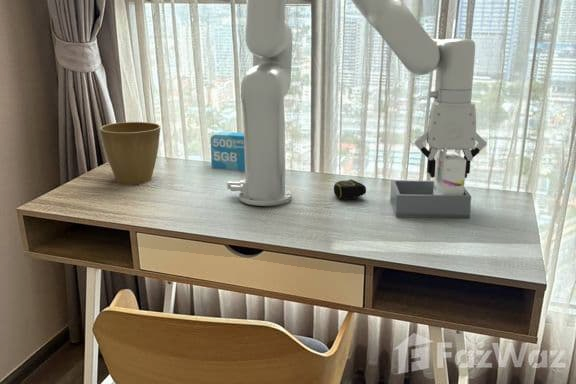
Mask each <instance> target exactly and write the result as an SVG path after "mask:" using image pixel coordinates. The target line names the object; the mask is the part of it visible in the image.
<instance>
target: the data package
mask: <svg viewBox="0 0 576 384" xmlns="http://www.w3.org/2000/svg"><path fill="white" fill-rule="evenodd" d="M210 159H211V160H210V161H211V164H210V165H211V168H212V169H213V168H214V169H222V170H230V171H231V170H234V171H240V172H241V171H242V172H245V148H244V132H234V131H233V132H232V131H219V132H216V133H215V134H212V136H211V137H210Z"/></svg>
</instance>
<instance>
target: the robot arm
mask: <svg viewBox="0 0 576 384" xmlns="http://www.w3.org/2000/svg"><path fill="white" fill-rule="evenodd" d="M286 1H287V0H246V18H245V19H246V21H245V38H244V39H245V45H246V47H247V49H248V50H249V52H250V53H251V54H252V67H251V68H249V69H248V71H246V73H245V74H244V76H243V78H242V81H241V82H240V83H241V84H240V100H241V107H242V108H241V109H242V121H243V133H244V148H245V171H244V177H245V178H244V179H243V180H242V179H241V180H240V181H234V180H233V181H232V180H231V181H230V180H228V181H227V183H226V188H227V190H230V191H231V192H237V191H239V192H240V193H239V194H238V195H239V196H238V199H239V201H240V202H242V203H244V204H246V205H251V206H259V207H261V206H263V207H264V206H265V207H267V206H268V207H269V206H278V205H283V204H285V203H288V202H290V201H291V200H292V195H293V194H292V192H291V191H290V190H288V189H286V133H285V132H286V129H285V126H286V123H285V109H284V108H285V107H284V97H286V95H287V94H288V92H289V90H290V88H291V81H292V63H293V62H292V61H293V60H292V59H293V32H292V31H293V30H292V29H291V26H290V25H289V23H288V21H287V20H286ZM350 2H352V3H353V4H354V6H355V7H356V8H357V10H358V11H359V12H360V13H361V15H362V16H363V17H364V19H365V20H366V22H367V23H368V24H369V25H370V26H372V28H373V29H375V30H376V32H377V33H378V35H380V36H381V38H382V39H383V40H384V41H385V43H386V44H387V45H388V47H389V48H390V50H391V51H392V52H393V53H394V54H395V56H396V57H397V58H398V60H399V61H400V62H401V63H402V64H403V66H404V67H405V68H406V70H407V71H408V72H410V73H411V74H413V75H416V76H425V75H428V74H430V73H433V72H434V71H436V72H437V76H436V88H435V89H434V90H433V91H429V93H428V97H429V98H430V99H431V98H432V99H434V100H435V101H434V102H432V103H431V104H432V105H431V108H430V110H429V117H428V123H427V130H426V131H425V132H423V133H422V134H421V135H420V136H418V137H417V138H416V139H415V140H414V145H415V146H416V148H418V150H419V151H420V152H421V153H422V154H423V155H424V156H425V157H426V158H427V168H426V172H427V174H429V176H430V178H433V179H434V177H435V165H436V161H435V160H436V153H437V151H438V149H440V150H441V151H443V150H444V149H445V145H446V146H447V151H448V150H452V151H453V150H454V151H455V150H456V151H457V150H459V151H460V150H461V151H462V152H463V158H464V159H465V160H466V169H465V179H467V178H468V174H470V172H471V161H473V159H474V157H475V156H478V154H480V152H481V151H482V150H484V148H485V147H486V146H487V142H486V140H484V139H483V137H482V136H481V135H479V133H478V132H477V111H476V110H477V109H476V103H473V102H472V94H473V81H474V70H475V59H476V58H475V57H476V42H475V41H474V40H473V39H469V38H454V37H453V38H445V39H439V38H438V39H437V38H431V36H430V35H429V34H428V33H427V31H426V30H425V28H423V26H422V25H421V24H420V22H419V21H418V20H417V18H416V17H415V16H414V15H413V13H412V12H411V11H410V9H409V8H408V7H407V5H406V4H405V2H404V0H351V1H350ZM425 141H426V144H428V146H429V148H428V149H427V148H426V146H424V144H423V143H424V142H425ZM476 143H477V144H476Z"/></svg>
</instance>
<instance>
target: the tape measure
mask: <svg viewBox="0 0 576 384" xmlns="http://www.w3.org/2000/svg"><path fill="white" fill-rule="evenodd" d="M333 193H334V196H335V197H337V198H338V199H343V200H353V199H356V198H359V197H362V196H364V195H366V193H367V188H366V186H365V185H364V184H363V183H360V182H359V181H356V180H354V179H351V178H350V179H347V180H339V181H336V182H335V183H334V185H333Z"/></svg>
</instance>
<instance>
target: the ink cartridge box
mask: <svg viewBox="0 0 576 384" xmlns="http://www.w3.org/2000/svg"><path fill="white" fill-rule="evenodd" d="M435 161H436V165H435V177H434V178H433V181H434V190H433V195H463V194H464V188H465V180H466V178H465V169H466V160H465V159H464V156H461V155H460V154H459V153H458V152H450V151H449V152H448V150H447V146H446V145H445V149H444V150H442V149H438V151H437V153H436V155H435Z"/></svg>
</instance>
